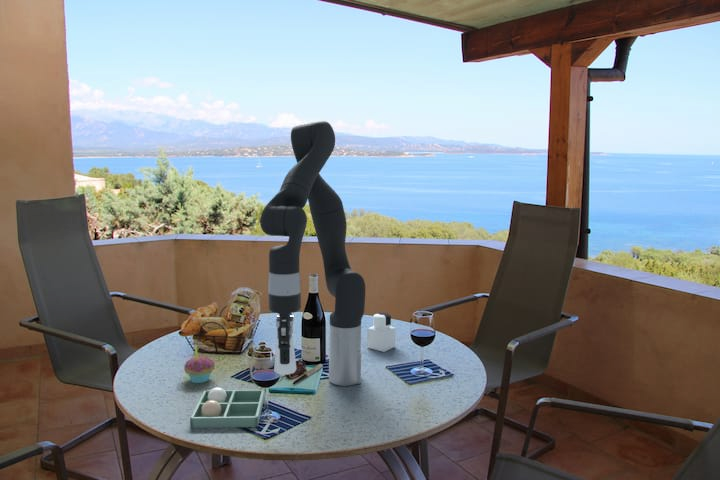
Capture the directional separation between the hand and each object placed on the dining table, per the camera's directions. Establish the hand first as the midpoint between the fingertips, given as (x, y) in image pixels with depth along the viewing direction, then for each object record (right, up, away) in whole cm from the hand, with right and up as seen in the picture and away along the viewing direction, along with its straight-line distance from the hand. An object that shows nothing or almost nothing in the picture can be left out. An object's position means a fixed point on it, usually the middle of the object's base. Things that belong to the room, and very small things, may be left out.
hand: (285, 359), depth 131 cm
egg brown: (-19, -15, +3) cm, 24 cm away
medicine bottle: (+25, -9, +59) cm, 65 cm away
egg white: (-19, -14, +11) cm, 26 cm away
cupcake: (-29, -12, +27) cm, 41 cm away
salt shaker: (0, -3, 0) cm, 3 cm away
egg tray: (-15, -15, +7) cm, 23 cm away
